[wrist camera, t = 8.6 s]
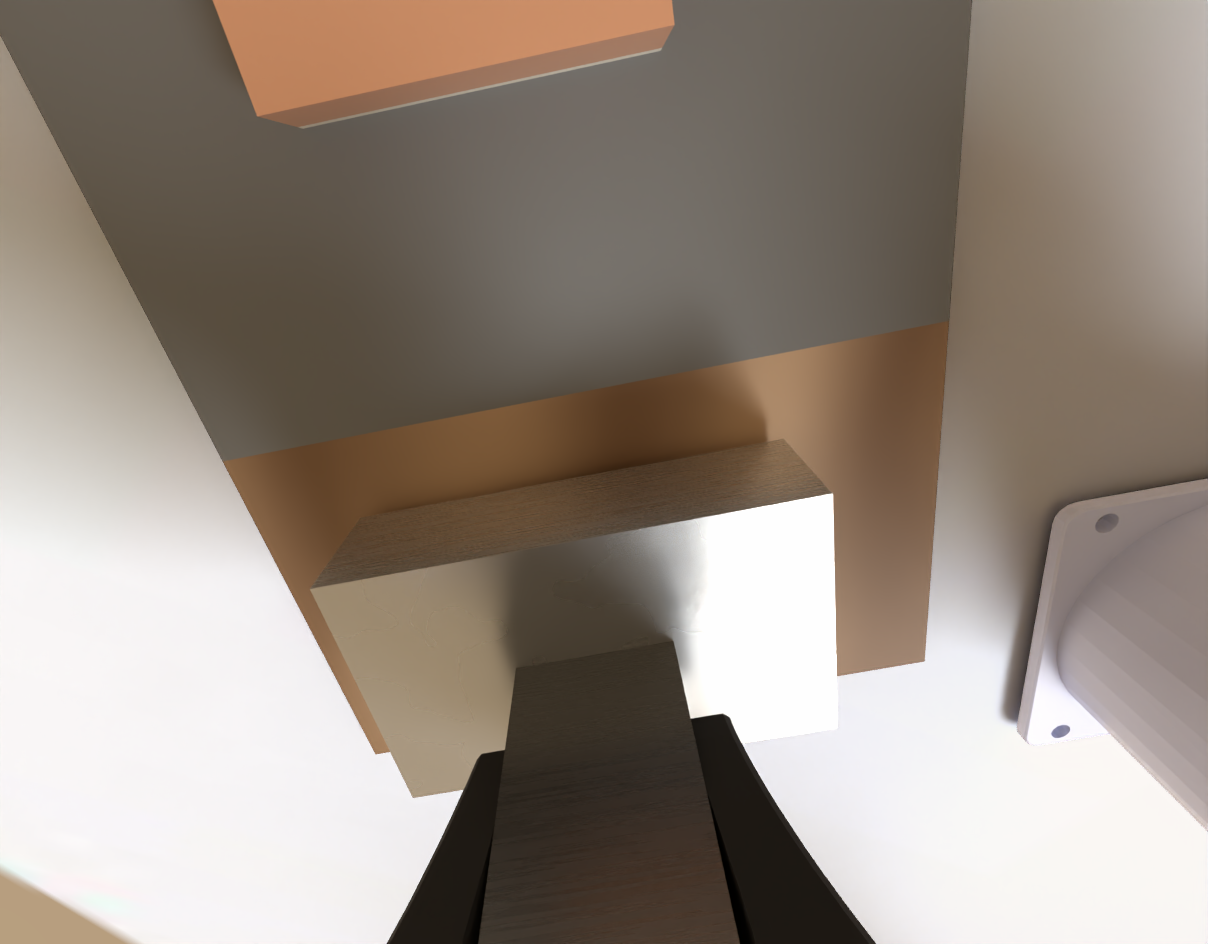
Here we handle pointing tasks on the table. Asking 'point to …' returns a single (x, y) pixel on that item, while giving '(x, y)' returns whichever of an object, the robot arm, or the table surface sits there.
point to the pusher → (596, 672)
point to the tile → (420, 48)
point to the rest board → (648, 435)
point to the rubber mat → (511, 208)
